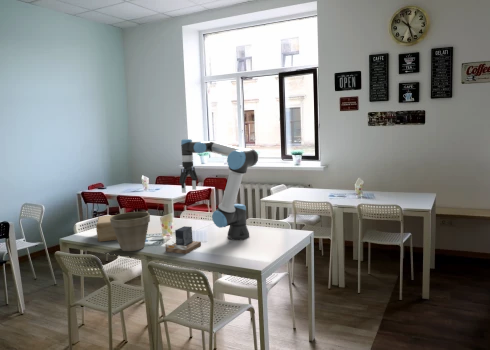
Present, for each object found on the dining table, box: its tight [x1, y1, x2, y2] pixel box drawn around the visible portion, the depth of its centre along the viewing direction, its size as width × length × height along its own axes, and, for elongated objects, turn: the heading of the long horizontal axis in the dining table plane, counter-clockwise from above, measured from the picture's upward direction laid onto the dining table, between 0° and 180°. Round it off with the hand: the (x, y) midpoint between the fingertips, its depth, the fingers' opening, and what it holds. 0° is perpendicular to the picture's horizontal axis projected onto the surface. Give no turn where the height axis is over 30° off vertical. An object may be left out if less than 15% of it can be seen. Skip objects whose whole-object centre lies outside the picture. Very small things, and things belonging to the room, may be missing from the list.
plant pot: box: [110, 211, 151, 252], centre depth 268 cm, size 25×25×22 cm
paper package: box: [95, 215, 118, 243], centre depth 301 cm, size 27×26×14 cm
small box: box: [174, 226, 194, 246], centre depth 265 cm, size 11×6×10 cm, turn 155°
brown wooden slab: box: [164, 240, 202, 255], centre depth 264 cm, size 15×18×4 cm
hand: (189, 191), depth 293 cm, fingers open, 13 cm apart
